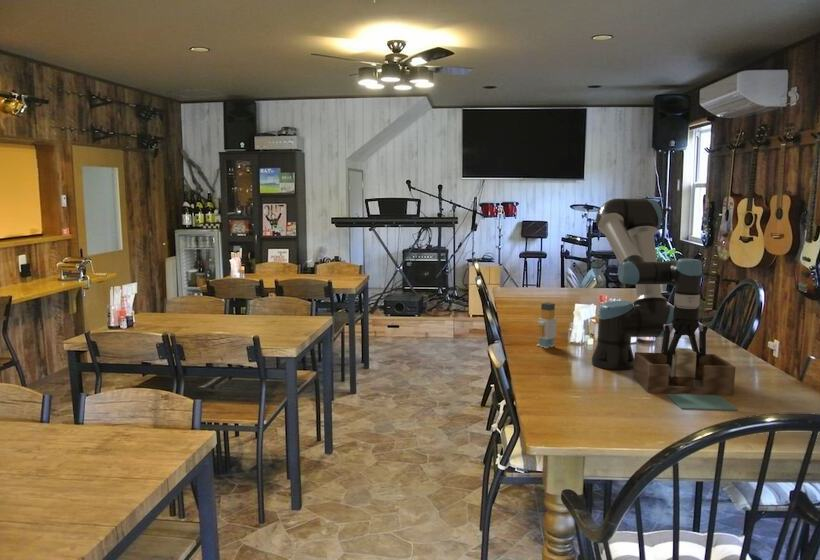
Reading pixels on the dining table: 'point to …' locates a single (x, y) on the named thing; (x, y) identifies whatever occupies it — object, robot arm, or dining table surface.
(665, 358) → the crate
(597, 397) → the dining table surface
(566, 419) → the dining table surface
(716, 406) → the mat
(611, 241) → the robot arm
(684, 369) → the block
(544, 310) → the character figure
